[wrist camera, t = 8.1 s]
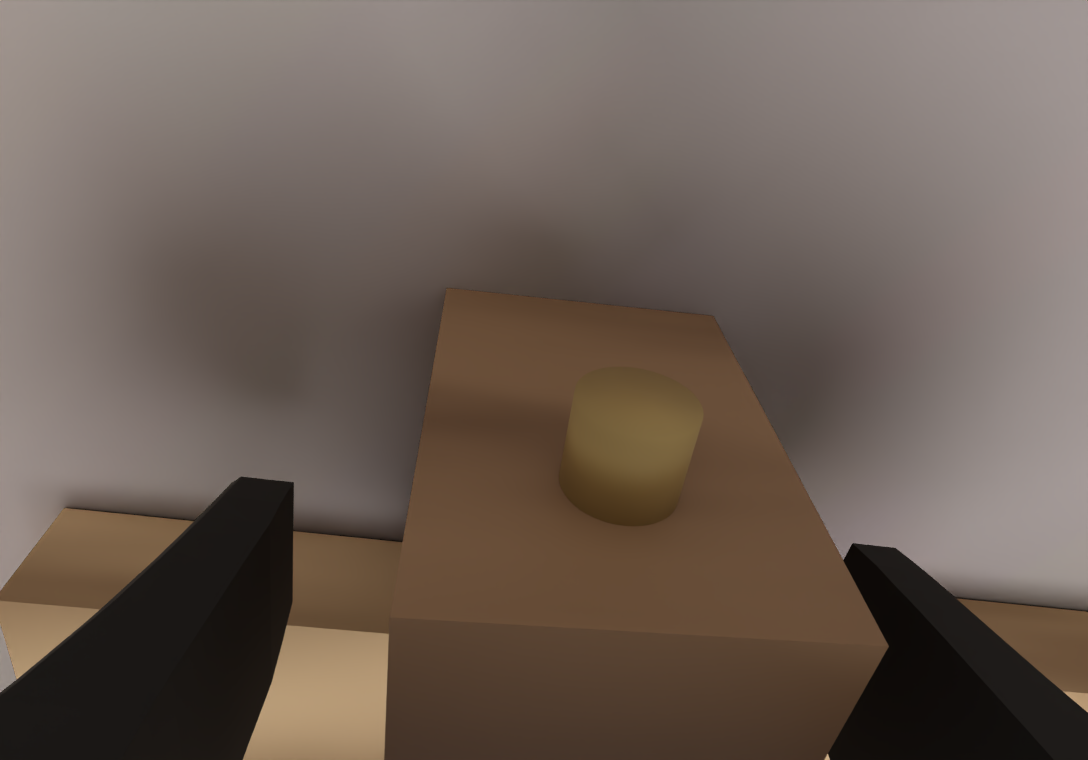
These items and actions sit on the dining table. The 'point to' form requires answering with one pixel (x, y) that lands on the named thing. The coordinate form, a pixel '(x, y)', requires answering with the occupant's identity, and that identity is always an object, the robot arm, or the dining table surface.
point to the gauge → (611, 552)
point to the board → (348, 627)
